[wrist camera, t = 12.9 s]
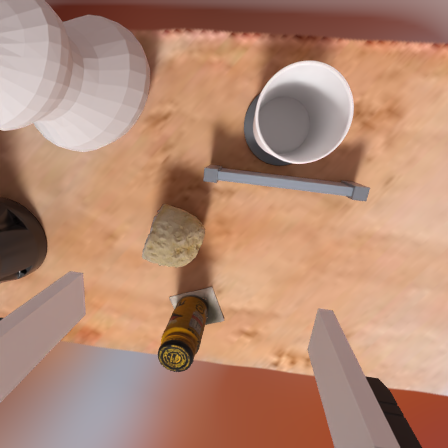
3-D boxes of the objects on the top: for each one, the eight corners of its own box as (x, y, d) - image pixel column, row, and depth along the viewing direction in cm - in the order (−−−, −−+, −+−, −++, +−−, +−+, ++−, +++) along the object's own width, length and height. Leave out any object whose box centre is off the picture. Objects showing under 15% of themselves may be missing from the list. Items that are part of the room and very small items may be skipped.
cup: (305, 87, 36) (347, 45, 20) (315, 147, 38) (359, 150, 22) (247, 105, 37) (245, 77, 22) (260, 162, 39) (266, 174, 24)
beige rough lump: (136, 191, 36) (189, 229, 32) (178, 196, 45) (223, 226, 41) (110, 249, 38) (158, 290, 34) (156, 242, 47) (197, 275, 44)
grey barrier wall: (209, 176, 41) (203, 181, 36) (210, 164, 40) (204, 167, 35) (350, 193, 40) (366, 201, 34) (353, 181, 39) (369, 187, 34)
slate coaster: (239, 160, 40) (239, 160, 39) (249, 80, 36) (249, 80, 36) (312, 169, 39) (312, 169, 39) (329, 88, 36) (329, 88, 35)
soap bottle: (116, 168, 42) (-151, 217, 14) (58, 117, 40) (-373, 57, 12) (181, 80, 37) (-27, -113, 9) (117, 18, 36) (-361, -434, 8)
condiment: (169, 296, 48) (144, 344, 37) (212, 286, 47) (199, 332, 35) (183, 328, 50) (163, 383, 39) (224, 319, 49) (216, 373, 37)
